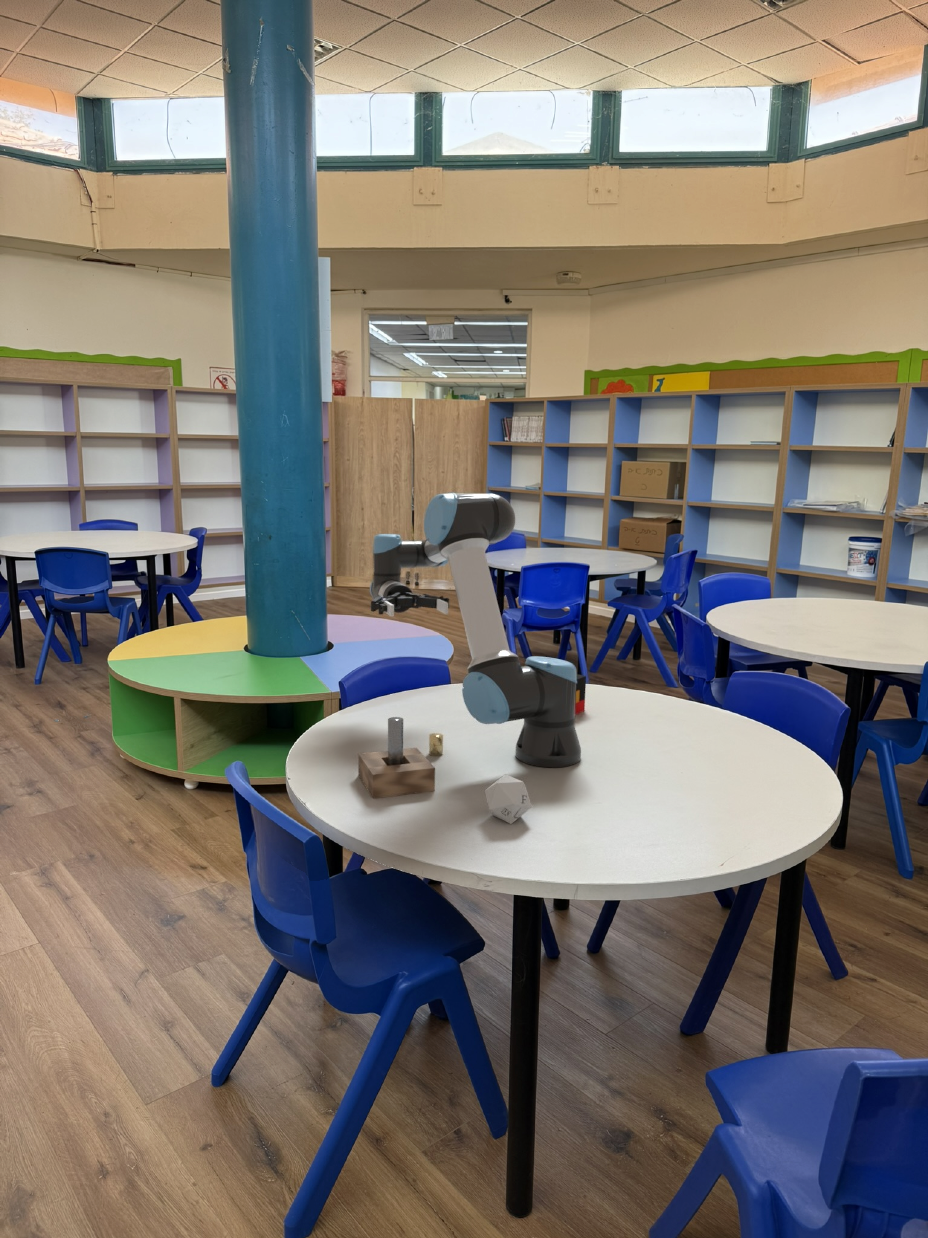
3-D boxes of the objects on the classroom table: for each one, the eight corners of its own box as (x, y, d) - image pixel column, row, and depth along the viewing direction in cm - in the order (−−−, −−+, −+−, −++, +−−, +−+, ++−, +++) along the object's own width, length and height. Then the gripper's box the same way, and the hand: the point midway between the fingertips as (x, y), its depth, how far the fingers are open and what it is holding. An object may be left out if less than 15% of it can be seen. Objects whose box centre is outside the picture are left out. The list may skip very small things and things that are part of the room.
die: (487, 831, 152) (518, 797, 149) (468, 795, 158) (498, 761, 154) (516, 835, 157) (548, 802, 154) (498, 800, 163) (527, 767, 160)
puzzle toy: (566, 718, 221) (567, 682, 219) (534, 711, 227) (536, 676, 225) (584, 710, 228) (586, 675, 227) (553, 704, 234) (554, 670, 233)
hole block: (416, 769, 181) (416, 747, 180) (434, 791, 169) (434, 767, 168) (358, 775, 176) (358, 753, 176) (373, 798, 164) (373, 774, 164)
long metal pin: (406, 782, 173) (406, 718, 171) (396, 787, 170) (396, 722, 168) (394, 779, 175) (394, 716, 172) (384, 783, 172) (384, 719, 170)
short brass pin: (445, 753, 192) (445, 734, 191) (437, 757, 189) (437, 738, 188) (434, 750, 193) (434, 732, 193) (426, 754, 191) (426, 735, 190)
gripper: (440, 608, 222) (468, 622, 202) (349, 612, 213) (369, 627, 193) (441, 581, 220) (468, 592, 201) (349, 584, 212) (369, 596, 192)
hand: (419, 609), depth 197 cm, fingers open, 13 cm apart
